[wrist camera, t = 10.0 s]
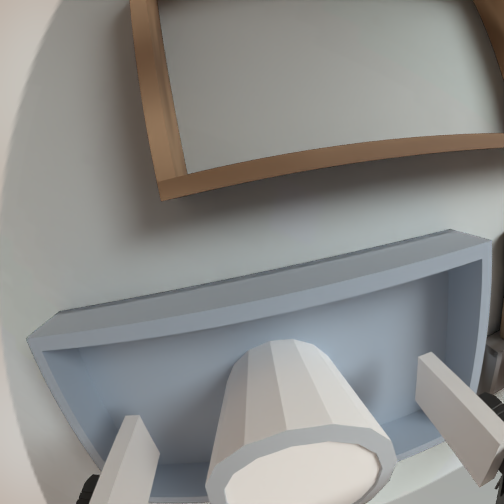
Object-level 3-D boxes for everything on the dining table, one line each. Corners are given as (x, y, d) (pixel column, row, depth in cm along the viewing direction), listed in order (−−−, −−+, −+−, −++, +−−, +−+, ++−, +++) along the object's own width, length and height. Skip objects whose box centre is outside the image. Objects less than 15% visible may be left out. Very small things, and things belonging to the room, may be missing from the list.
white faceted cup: (196, 346, 15) (172, 451, 8) (337, 310, 15) (402, 396, 8) (235, 442, 16) (237, 541, 9) (351, 413, 16) (393, 503, 9)
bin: (59, 311, 15) (25, 338, 11) (449, 229, 15) (491, 240, 11) (136, 464, 17) (124, 501, 14) (442, 400, 17) (466, 429, 14)
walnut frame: (142, -13, 11) (126, -43, 8) (472, -12, 11) (495, -28, 8) (176, 198, 14) (161, 201, 11) (524, 146, 14) (555, 145, 11)
